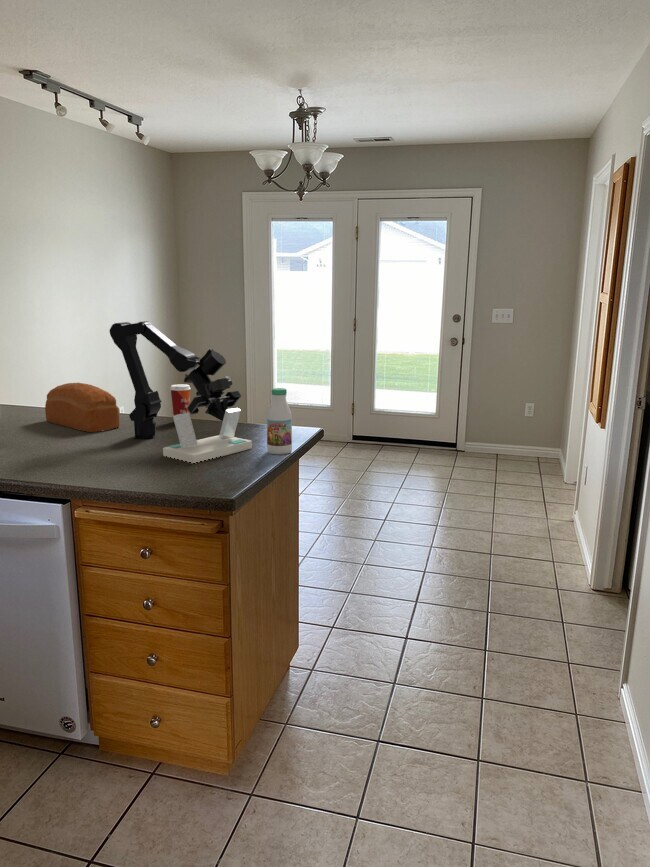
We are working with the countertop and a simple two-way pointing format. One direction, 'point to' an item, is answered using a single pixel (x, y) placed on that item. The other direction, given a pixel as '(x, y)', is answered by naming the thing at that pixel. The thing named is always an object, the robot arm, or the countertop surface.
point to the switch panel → (207, 449)
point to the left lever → (185, 430)
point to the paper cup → (180, 398)
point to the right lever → (229, 423)
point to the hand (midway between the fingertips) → (228, 422)
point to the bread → (82, 407)
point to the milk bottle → (279, 424)
